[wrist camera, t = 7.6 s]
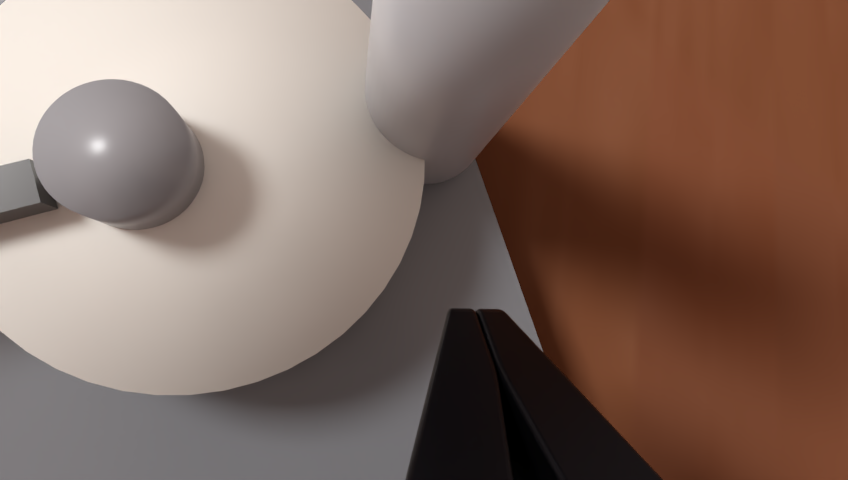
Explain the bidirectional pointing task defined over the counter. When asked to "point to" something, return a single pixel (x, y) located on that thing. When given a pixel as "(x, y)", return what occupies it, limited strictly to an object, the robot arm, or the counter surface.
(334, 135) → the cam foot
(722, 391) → the counter surface
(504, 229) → the counter surface
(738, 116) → the counter surface
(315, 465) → the stand
